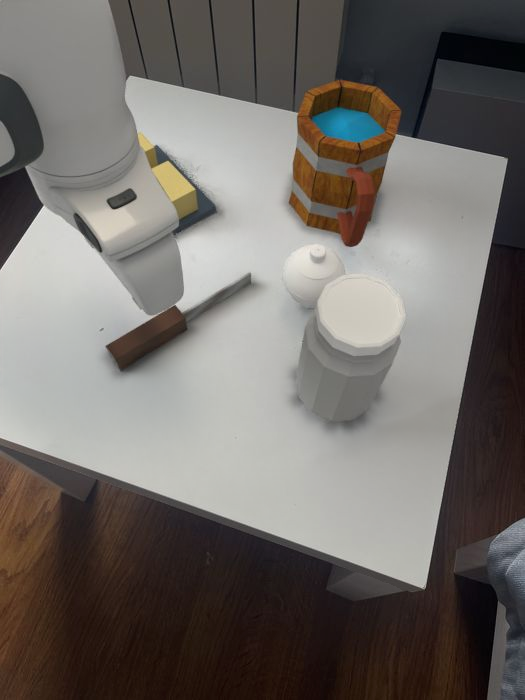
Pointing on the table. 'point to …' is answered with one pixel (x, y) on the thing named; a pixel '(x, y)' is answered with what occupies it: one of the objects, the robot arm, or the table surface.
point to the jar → (349, 346)
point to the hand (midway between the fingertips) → (120, 271)
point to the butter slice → (148, 150)
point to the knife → (164, 327)
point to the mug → (342, 156)
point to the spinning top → (311, 273)
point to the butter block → (176, 188)
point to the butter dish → (203, 201)
